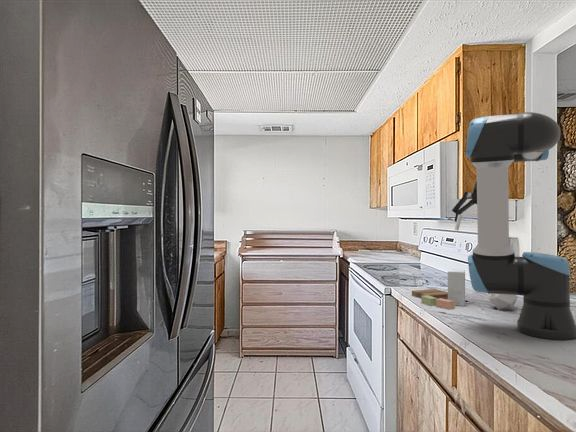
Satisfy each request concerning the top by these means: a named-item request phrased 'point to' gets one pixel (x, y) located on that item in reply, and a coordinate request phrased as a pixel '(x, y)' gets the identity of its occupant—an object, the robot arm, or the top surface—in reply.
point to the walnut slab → (431, 293)
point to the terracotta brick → (445, 303)
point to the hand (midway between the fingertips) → (473, 233)
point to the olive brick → (428, 300)
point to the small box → (456, 286)
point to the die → (503, 301)
